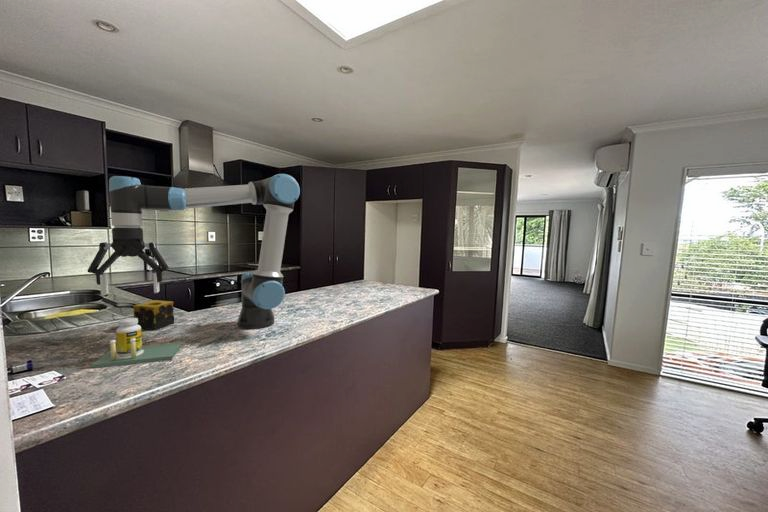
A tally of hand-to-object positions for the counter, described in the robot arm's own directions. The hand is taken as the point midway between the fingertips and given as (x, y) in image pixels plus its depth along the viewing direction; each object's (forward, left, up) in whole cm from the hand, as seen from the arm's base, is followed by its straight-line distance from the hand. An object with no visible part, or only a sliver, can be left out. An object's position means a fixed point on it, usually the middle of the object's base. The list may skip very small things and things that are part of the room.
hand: (131, 293), depth 98 cm
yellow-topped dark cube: (+4, -33, -21) cm, 39 cm away
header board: (-2, +1, -21) cm, 21 cm away
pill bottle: (+1, +1, -20) cm, 20 cm away
